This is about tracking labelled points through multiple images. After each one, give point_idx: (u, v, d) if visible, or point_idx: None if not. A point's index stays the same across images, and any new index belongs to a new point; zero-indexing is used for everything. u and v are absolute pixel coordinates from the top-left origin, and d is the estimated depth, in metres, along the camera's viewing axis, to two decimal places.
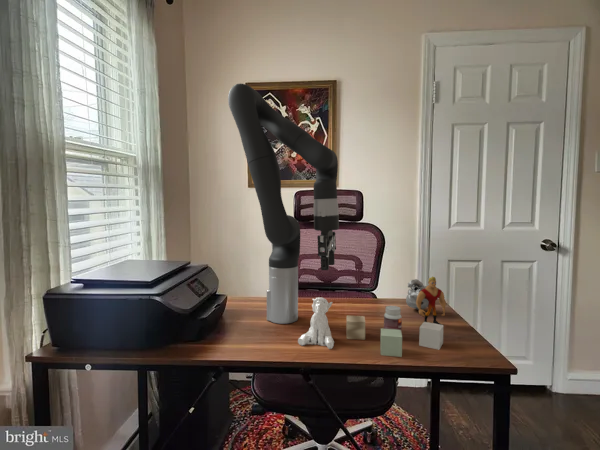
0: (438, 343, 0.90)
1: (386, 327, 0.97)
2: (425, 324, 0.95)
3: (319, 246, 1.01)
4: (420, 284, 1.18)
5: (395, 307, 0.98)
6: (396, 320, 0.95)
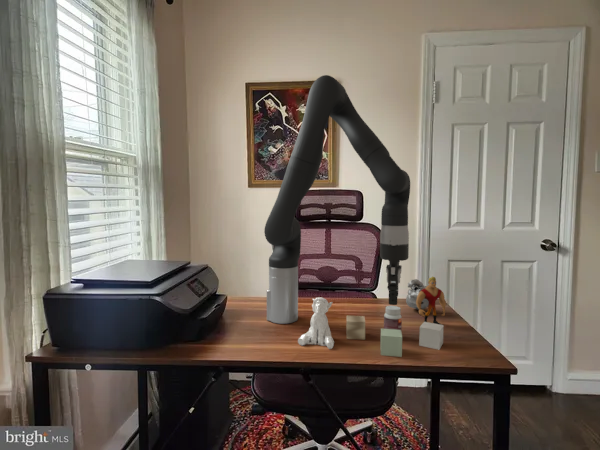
0: (438, 343, 0.90)
1: (386, 327, 0.97)
2: (425, 324, 0.95)
3: (390, 279, 0.91)
4: (420, 284, 1.18)
5: (395, 307, 0.98)
6: (396, 320, 0.95)
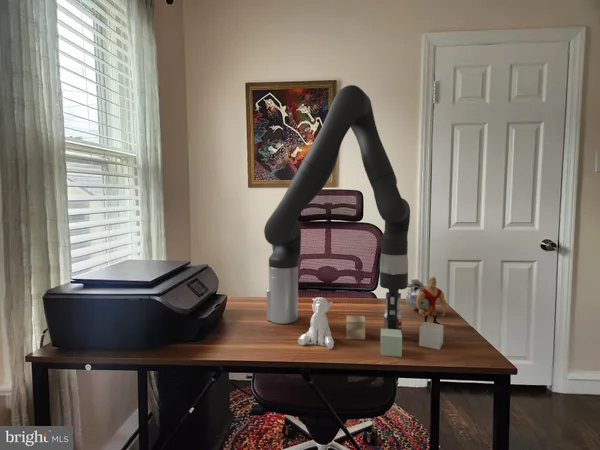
0: (438, 343, 0.90)
1: (386, 327, 0.97)
2: (425, 324, 0.95)
3: (389, 309, 0.91)
4: (420, 284, 1.18)
5: None
6: None
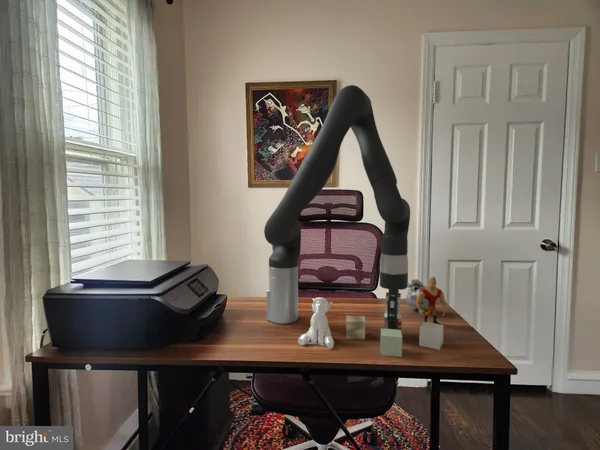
0: (438, 343, 0.90)
1: (386, 327, 0.97)
2: (425, 324, 0.95)
3: (389, 312, 0.92)
4: (420, 284, 1.18)
5: None
6: None
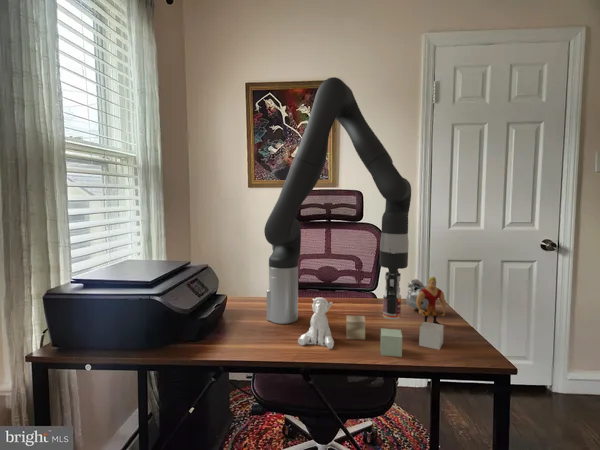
0: (438, 343, 0.90)
1: (385, 306, 0.97)
2: (425, 324, 0.95)
3: (388, 290, 0.92)
4: (420, 284, 1.18)
5: None
6: None
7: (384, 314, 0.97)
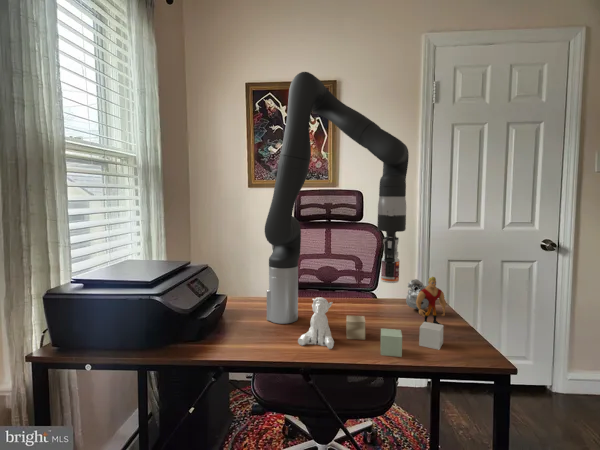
0: (438, 343, 0.90)
1: (383, 270, 0.96)
2: (425, 324, 0.95)
3: (386, 252, 0.92)
4: (420, 284, 1.18)
5: None
6: None
7: (382, 278, 0.97)
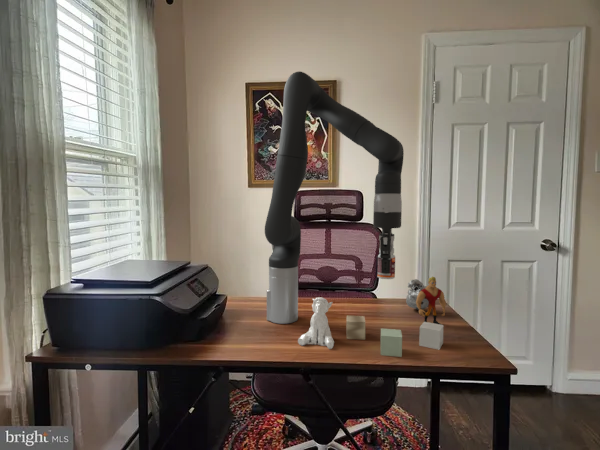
0: (438, 343, 0.90)
1: (380, 267, 0.97)
2: (425, 324, 0.95)
3: (382, 249, 0.92)
4: (420, 284, 1.18)
5: None
6: None
7: (378, 275, 0.98)
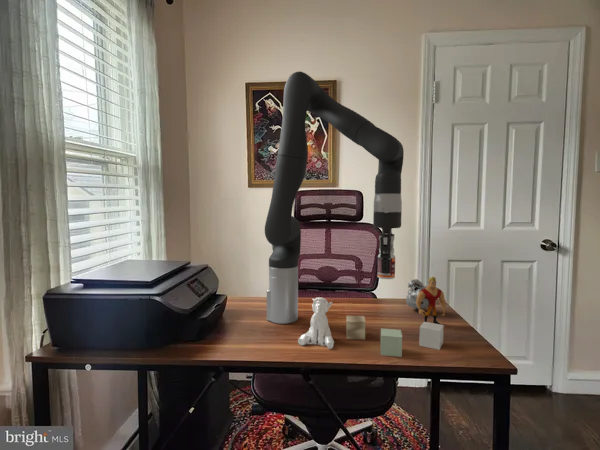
0: (438, 343, 0.90)
1: (380, 267, 0.97)
2: (425, 324, 0.95)
3: (382, 249, 0.92)
4: (420, 284, 1.18)
5: None
6: None
7: (378, 275, 0.98)
